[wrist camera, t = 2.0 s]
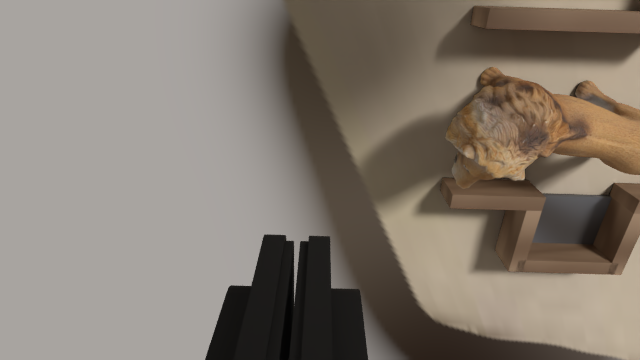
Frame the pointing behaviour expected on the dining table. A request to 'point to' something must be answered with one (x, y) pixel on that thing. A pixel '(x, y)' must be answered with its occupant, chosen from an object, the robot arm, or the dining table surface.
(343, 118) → the dining table surface
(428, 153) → the dining table surface
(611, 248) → the wooden walled channel
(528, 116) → the lion figurine
